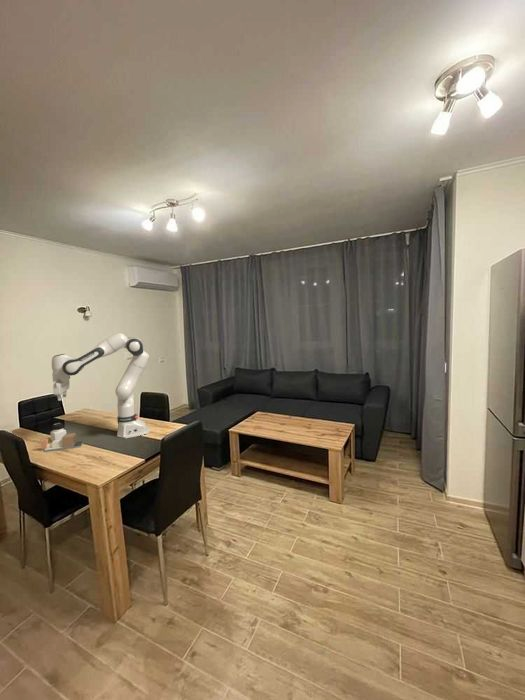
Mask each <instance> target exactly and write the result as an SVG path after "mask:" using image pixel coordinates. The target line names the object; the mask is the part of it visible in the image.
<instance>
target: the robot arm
mask: <svg viewBox="0 0 525 700" xmlns="http://www.w3.org/2000/svg"><path fill="white" fill-rule="evenodd" d="M122 349H126V350H127V351H128V352H129V353H130V354H131V355H132V357H131V360H130V362H129V364H128V365H127V368H126V370H124V373H123V375H122V376H121V379H120V380H119V382H118V383H117V385H116V388H115V391H114V392H115V395H116V397H117V404H116V405H117V407H116V408H117V420H116V421H117V424H118V425H117V434H116V437H118V438H123V439H129V438H136V437H139V436H140V435H141V436H145V435H144V434H146V435H148V434H149V433H150V432H151V429H150V427H148V426H147V423H146V422H145V421H144V420H141V419H139V416H138V415H139V414H138V413H135V388H136V387H137V384H138V383H139V381H140V378H141V376H142V375H143V372H144V371H145V369H146V367H147V365H148V363H149V359H150V355H149V353H147V351H144V343H143V340H141V339H140V338H139V337H135V336H133V337H127V336H126V335H125V334H124V333H122V332H119V333H116V334H113V335H111V336H108V337H107V338H104V339H103V340H102V341H101V342H99V343H98V344H96V345H95V347H94V348H92V349H91V350H90V351H88V352H87V353H85V354H83V355H81V356H80V357H72V356H70V355H67V354H65V353H61V354H56V355H53V356H52V358H51V371H52V374H51V375H52V382H53V389H52V390H53V395H54V396H56V397H57V401H62V400H63V398H67V393H68V390H69V389H70V379H71V376H75V375H78V374H79V373H80V372H81V371H83V369H84V368H85V366H87V365H88V364H91V363H92V362H95V360H98V359H101V358H105V357H107V356H110V355H112V354H114V353H116V352H118V351H119V350H122Z"/></svg>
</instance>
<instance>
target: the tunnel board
mask: <svg viewBox="0 0 525 700" xmlns="http://www.w3.org/2000/svg"><path fill="white" fill-rule="evenodd" d="M62 444H63V446H62V447H55V448H52V447H51V448H45V449H43V450H44V451H43V452H44V453H47V452H48V453H49V452H53V451H54V452H55V451H61V450H69V449H77V448H81V447H82V446H83V444H84V440H82V441H77V433H76V432H72V433H71V432H70V433H66V434H65V435H64V436H63V437H62Z"/></svg>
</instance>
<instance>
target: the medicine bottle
mask: <svg viewBox="0 0 525 700" xmlns="http://www.w3.org/2000/svg"><path fill="white" fill-rule="evenodd" d="M65 434H67V430H66V429H65V428H64V423H62V422H58V423H54V424H53V425H52V430H51V431H50V441H51V443H52V442H53V441H54V440H62V437H63V436H64V435H65Z"/></svg>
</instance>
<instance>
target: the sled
mask: <svg viewBox="0 0 525 700" xmlns="http://www.w3.org/2000/svg"><path fill="white" fill-rule="evenodd" d="M62 446H63V444H62V440H54V441H53V442H52V441H51V443H49V438H43V439H41V440H40V447H41V448H40V449H41V450H45V449H46V448H51V447H52V448H55V447H62Z"/></svg>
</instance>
